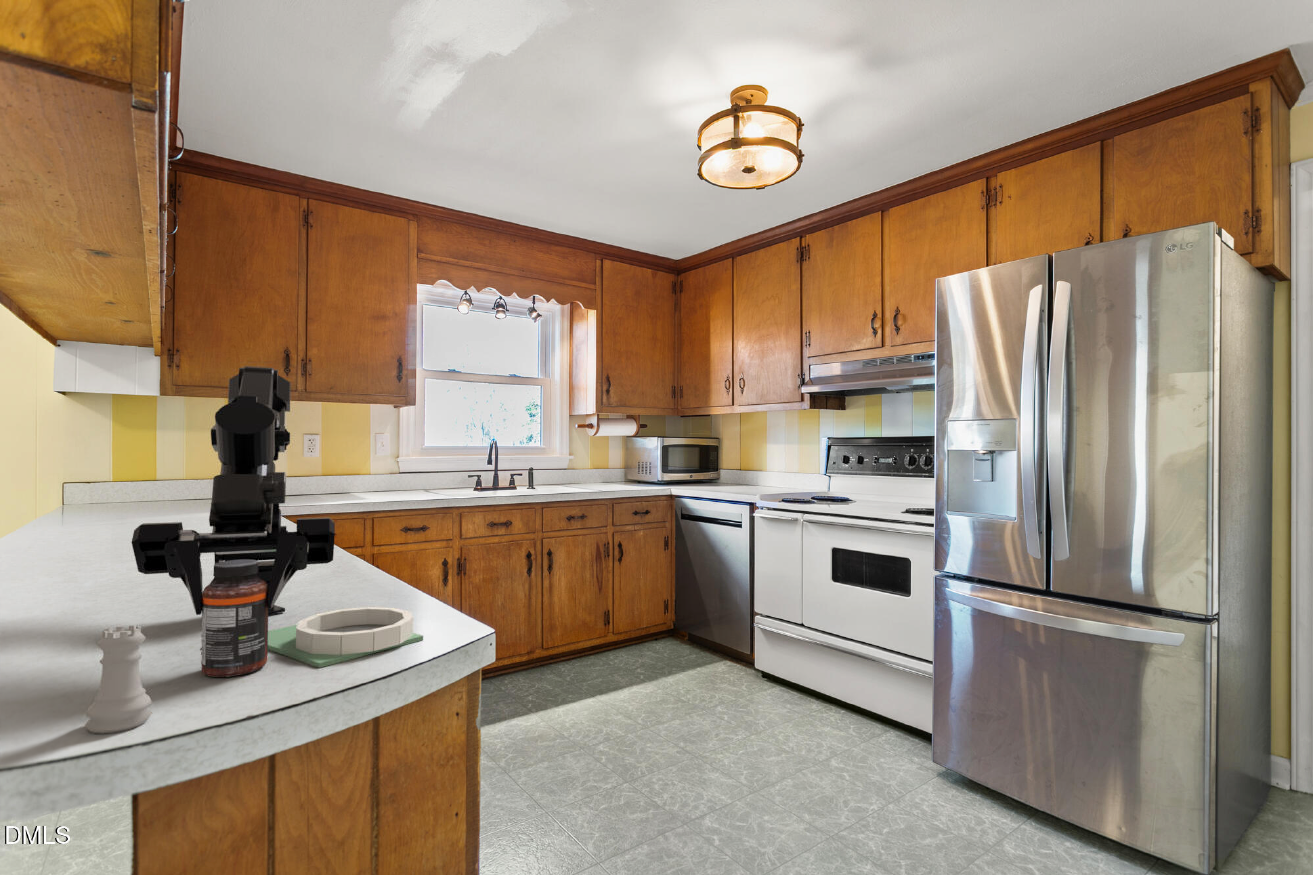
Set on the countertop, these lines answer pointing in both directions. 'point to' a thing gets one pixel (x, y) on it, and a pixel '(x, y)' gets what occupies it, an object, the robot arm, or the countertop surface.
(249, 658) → the supplement bottle
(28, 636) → the countertop surface
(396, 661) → the countertop surface
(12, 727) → the countertop surface
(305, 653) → the putting mat
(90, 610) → the countertop surface
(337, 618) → the round cream tray
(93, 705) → the rook chess piece
